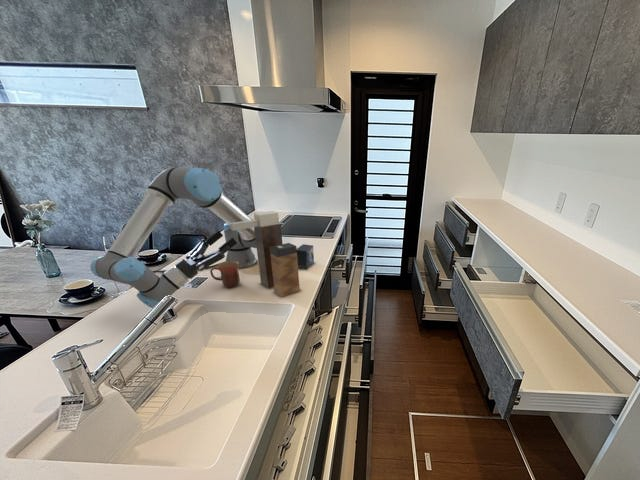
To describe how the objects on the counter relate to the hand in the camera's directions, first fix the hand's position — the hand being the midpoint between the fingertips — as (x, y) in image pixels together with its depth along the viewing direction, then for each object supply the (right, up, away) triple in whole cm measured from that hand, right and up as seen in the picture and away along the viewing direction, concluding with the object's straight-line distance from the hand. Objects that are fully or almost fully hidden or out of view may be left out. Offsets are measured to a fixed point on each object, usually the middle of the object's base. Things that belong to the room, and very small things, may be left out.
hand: (227, 236), depth 120 cm
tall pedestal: (+11, -19, +21) cm, 31 cm away
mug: (-8, -20, +18) cm, 28 cm away
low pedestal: (+20, -23, +14) cm, 33 cm away
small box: (+22, -10, +43) cm, 50 cm away
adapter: (+20, -6, +7) cm, 22 cm away
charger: (+9, +5, +7) cm, 13 cm away
